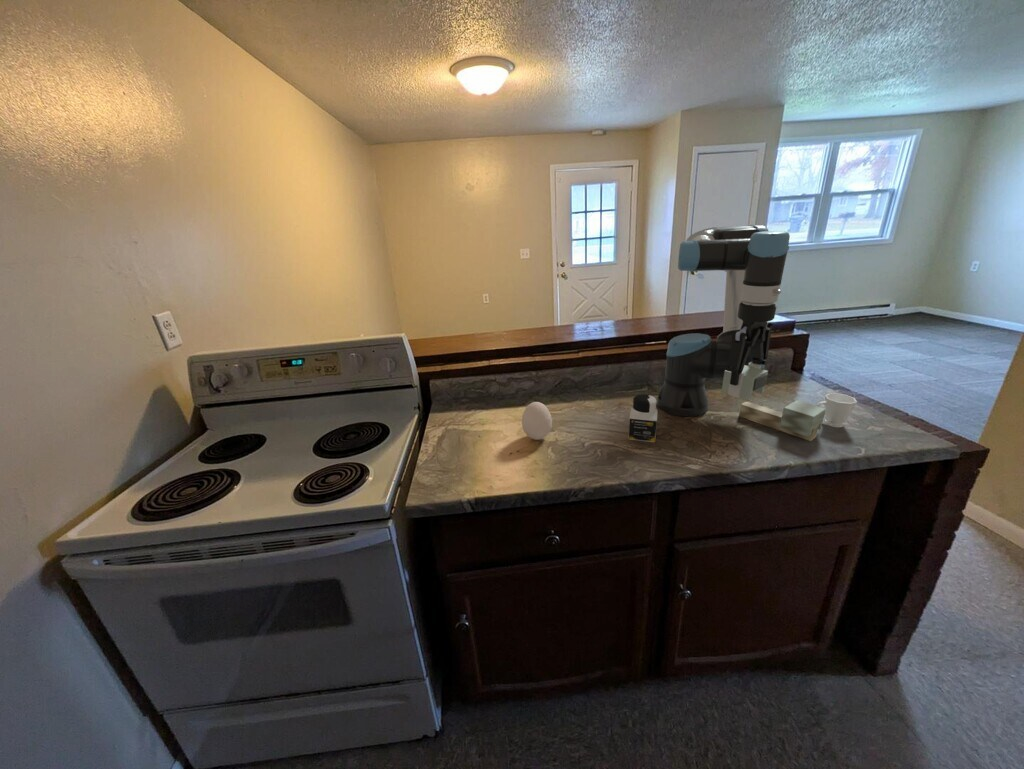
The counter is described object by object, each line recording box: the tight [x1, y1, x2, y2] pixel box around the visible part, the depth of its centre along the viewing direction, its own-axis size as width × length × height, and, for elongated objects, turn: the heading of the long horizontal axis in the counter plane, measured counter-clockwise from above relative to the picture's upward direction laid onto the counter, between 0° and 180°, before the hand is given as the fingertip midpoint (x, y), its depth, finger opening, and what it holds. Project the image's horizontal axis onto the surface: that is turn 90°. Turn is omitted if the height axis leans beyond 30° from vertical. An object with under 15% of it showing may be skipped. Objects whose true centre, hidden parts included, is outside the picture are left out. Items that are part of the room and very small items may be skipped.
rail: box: [738, 399, 826, 442], centre depth 112 cm, size 19×7×8 cm, turn 34°
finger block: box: [721, 365, 769, 402], centre depth 100 cm, size 7×7×6 cm
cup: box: [815, 392, 858, 428], centre depth 111 cm, size 7×10×8 cm
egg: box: [521, 401, 553, 441], centre depth 113 cm, size 9×9×12 cm
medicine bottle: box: [628, 393, 658, 443], centre depth 111 cm, size 7×7×12 cm
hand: (742, 391), depth 102 cm, fingers closed on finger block, 7 cm apart
